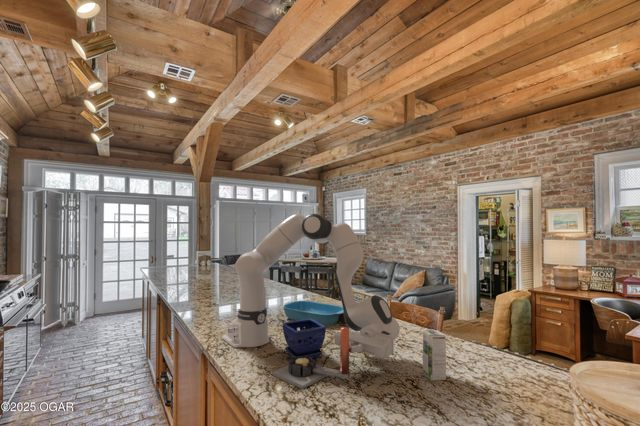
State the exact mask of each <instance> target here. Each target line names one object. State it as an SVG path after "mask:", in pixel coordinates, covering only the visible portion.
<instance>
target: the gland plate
mask: <svg viewBox="0 0 640 426" xmlns="http://www.w3.org/2000/svg"><path fill="white" fill-rule="evenodd" d="M296 363H298V364H303V366H308V363H309V360H308V359H306V358H299V359H297V360H296ZM316 366H319V367H322V366H320V365H318V364H316ZM272 376H274V377H276V378H277V379H280V380H282V381H284V382H285V383H289V384H290V385H292V386H294V387H297V388H299V389H301V390H304V389H305V388H307V387H310V386H311V385H313V384H315V383H317V382H319V381H320V380H322V379H324V378H326V377H328V376H329V375H326V374H321V373H315V372H314V373H313V374H311V375H309V376H304V377H302V376H301V377H299V376H294V375H292V374H290V372H289V371H288V365H286V366H283V367H281V368H279V369H277V370H275V371H273V372H272Z"/></svg>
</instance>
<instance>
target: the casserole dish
mask: <svg viewBox="0 0 640 426" xmlns="http://www.w3.org/2000/svg"><path fill="white" fill-rule="evenodd" d="M282 307H283V311H284V314H285V316H286V318H288V319H289V320H292V321H298V320H305V319H313V320H315V321H317V322H318V323H320V324H322V325H324V326H325V327H330V326H332V324H333V325H335V324H336V322H337V323H338V321H339V317H340V315H341V314H344V311H343V305H336V304H332V303H325V302H318V301H313V300H297V301H296V300H295V301H288V302H286V303H285V304H284V305H283V306H282ZM334 323H335V324H334ZM329 325H330V326H329Z"/></svg>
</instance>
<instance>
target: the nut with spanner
mask: <svg viewBox="0 0 640 426" xmlns="http://www.w3.org/2000/svg"><path fill="white" fill-rule="evenodd" d="M349 331H350V328H349V327H348V326H341V327H340V331H339V332H340V346H339V347H340V354H339V355H340V357H339V358H340V361H339V363H340V366H339V369H335V368H329V367H324V366H321V367H319V366H320V365H318V366H316V365H317V360H314V359H312V358H311V356H305V355H304V356H302V358H306V359H308V360H309V363H308V366H303V364H298V363H296V360H297V359H299V358H295V357H292V356H291V358H290V359H288V365H287V366H288V371H289V372H290V374H292V375H294V376H299V377H301V376H302V377H304V376H309V375H311V374H313V373H314V372H315V373H321V374H326V375H328V376H333V377H339V378H343V379H349V378H350V376H351V371H350V352H349Z"/></svg>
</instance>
